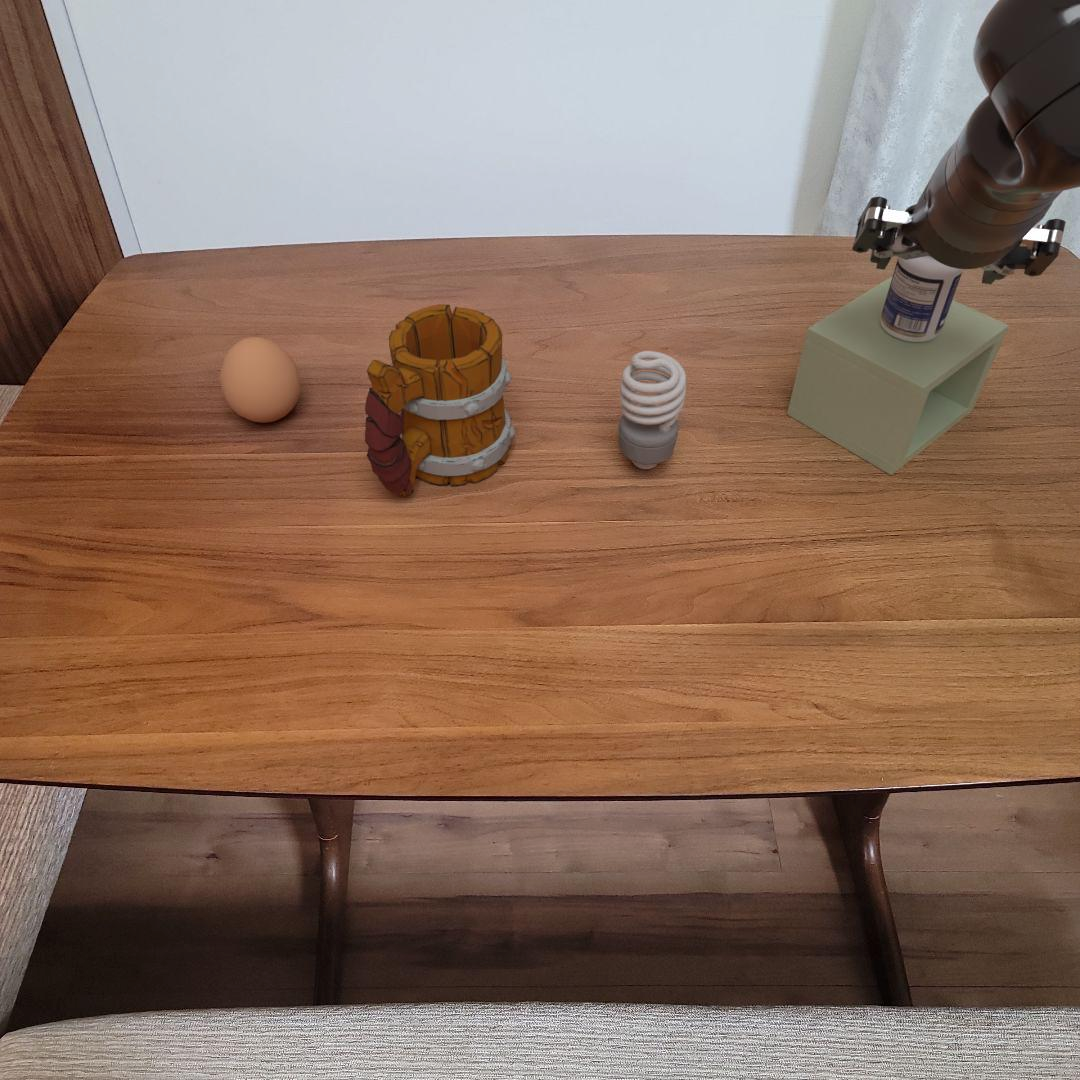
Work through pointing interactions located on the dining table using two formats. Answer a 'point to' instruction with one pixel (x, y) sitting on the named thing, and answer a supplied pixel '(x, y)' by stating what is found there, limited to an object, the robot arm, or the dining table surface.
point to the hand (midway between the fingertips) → (934, 264)
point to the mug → (439, 401)
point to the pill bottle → (919, 298)
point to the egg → (259, 380)
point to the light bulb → (650, 408)
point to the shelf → (891, 379)
